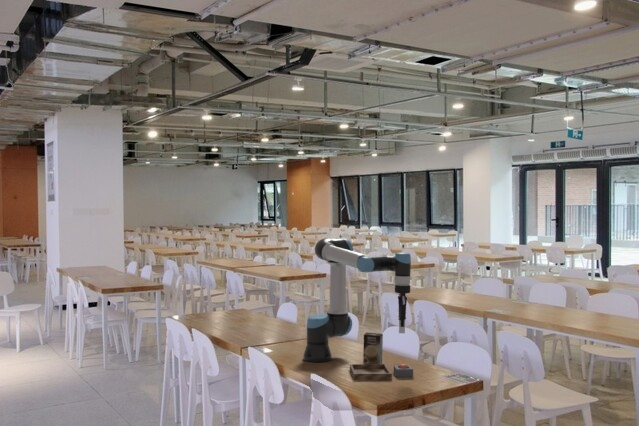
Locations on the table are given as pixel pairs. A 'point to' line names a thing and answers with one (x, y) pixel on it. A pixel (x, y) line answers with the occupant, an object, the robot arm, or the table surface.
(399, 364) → the button
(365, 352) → the coffee box
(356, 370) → the wooden tray
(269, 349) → the table surface
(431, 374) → the table surface
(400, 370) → the button housing
